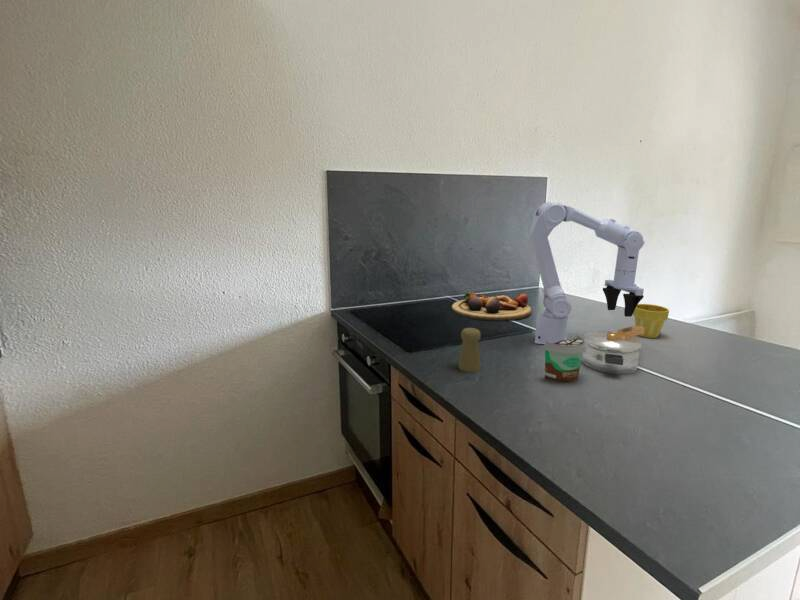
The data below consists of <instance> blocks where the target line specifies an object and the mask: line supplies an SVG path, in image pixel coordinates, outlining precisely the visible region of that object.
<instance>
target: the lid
mask: <svg viewBox="0 0 800 600" xmlns="http://www.w3.org/2000/svg"><path fill="white" fill-rule="evenodd" d="M644 330H645V328H644V327H641V326H635V325H633V326H628V327H624V328H620V329H617V332H614V331H602V330H599V331H598V330H597V331H588V332H585V333H584V334H583V336H582V338H583V339H584V340H585V343H586V344H587V345H589V346H591V347H594V348H597V349H601V350H605V351H611V352H620V353H630V352H637V351H639V350H640V351H641V350H642V346H643V342H642V341H641V340H639V339H638V338H636V337H635V336H639V335H640V334H644ZM640 351H639V352H640Z"/></svg>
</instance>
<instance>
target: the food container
mask: <svg viewBox="0 0 800 600" xmlns="http://www.w3.org/2000/svg"><path fill="white" fill-rule="evenodd" d="M542 349H543V350H544V379H547V380H550V381H553V382H559V383H571V382H575V380H576V381H577V380H578V379H577V378H579V373H580V368H581V365H582V364H581V363H582V355H583V352H585V351H586V343H585V340H584V339H583V336H579V335H576V338H573V339H566V340H561V341H559V342H556V343H549V342H545V344H543V348H542Z"/></svg>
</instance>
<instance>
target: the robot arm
mask: <svg viewBox="0 0 800 600" xmlns="http://www.w3.org/2000/svg"><path fill="white" fill-rule="evenodd" d="M562 222H565V223H567V222H573V223H575V224H578V225H581V226H582V227H585V228H588V229H589V230H593V231H594V233H595V237H598V238H600V239H601V240H604V241H606V242H608V243H610V244H613V245H615V246H617V254H616V255H617V256H616V261H615V269H614V274H613V275H614V276H613V280H612V279H604V286H605V287H603V288H602V291H603V294H604V296H605V301H606V305H607V310H608V311H616V308H617V303H618V299H619V296H620V294H621V291H624V292H626V293H622V296H623V302H624V311H623V312H624V317H626V318H629V317H633V316H634V315H633V312H634V310H635V308H636V306H637V305H638V304H640V302H641V301H642V300H643V299H644V288H642V287H640V286H637V284H636V283H635V281H636V274H637V268H638V261H639V253H640V250H641V249H642V248H643V246H644V245H645V242H646V241H644V236H643V235H642V233H641V232H639V231H635V230H630V228H631V227H630V226H627V225H624V226H623V225H621V224H619V223H616V219H613V218H610V219H609V218H605V219H602V220H599V219H597V218H596V217H594V216H591V215H589V214H587V213H584V212H583V211H582V210H581V211H580V210H579V209H577V208H574V207H572V206H570V205H569V206H568V205H566V204H564V205H563V204H561V203H559V202H550V201H549V202H544V203H542V204H540V205H539V206H538V208H537V209H536V210H535V212H534V213H533V220H532V224H531V227H530V229H529V238H530V243H531V246H532V250H533V254H534V257H535V260H536V265H537V267H538V271H539V275H540V278H541V283H542V285H543V290H542V293H543V300H542V304H543V306H544V308H545V309H544V311H543V313H537V314H536V315H537V316H536V324H535V330H534V344H540V345H544V344H545V342H549V343H556V342H559V341H561V340H567V337H566V336H567V328H568V327H567V326H568V318H569V314H570V313H571V311H572V304H571V301H570V300H569V299H567V296H566V294H565V291H564V289H563V288H562V285H561V282H560V278H559V275H558V272H557V267H556V264H555V260H554V256H553V253H552V248H551V246H550V241H549V236H550V234H551V233H552V232H553V230H554V229H555V228H556V227H558V226H559V225H560V224H561V223H562Z"/></svg>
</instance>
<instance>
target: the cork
mask: <svg viewBox="0 0 800 600" xmlns="http://www.w3.org/2000/svg"><path fill="white" fill-rule="evenodd" d="M481 334H482V333H481V331H480V330H479V329H477V328H474V327H466V328H463V329H462V330H461V333H460V338H461V340H462V343H461V344H462V345H461V349H460V354H459V360H458V366H457V368H458V369H459V370H460V371H462V372H468V373H473V372H474V373H475V372H478V371H480V370H481V359H480V348H479V341H480V340H481Z"/></svg>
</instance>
